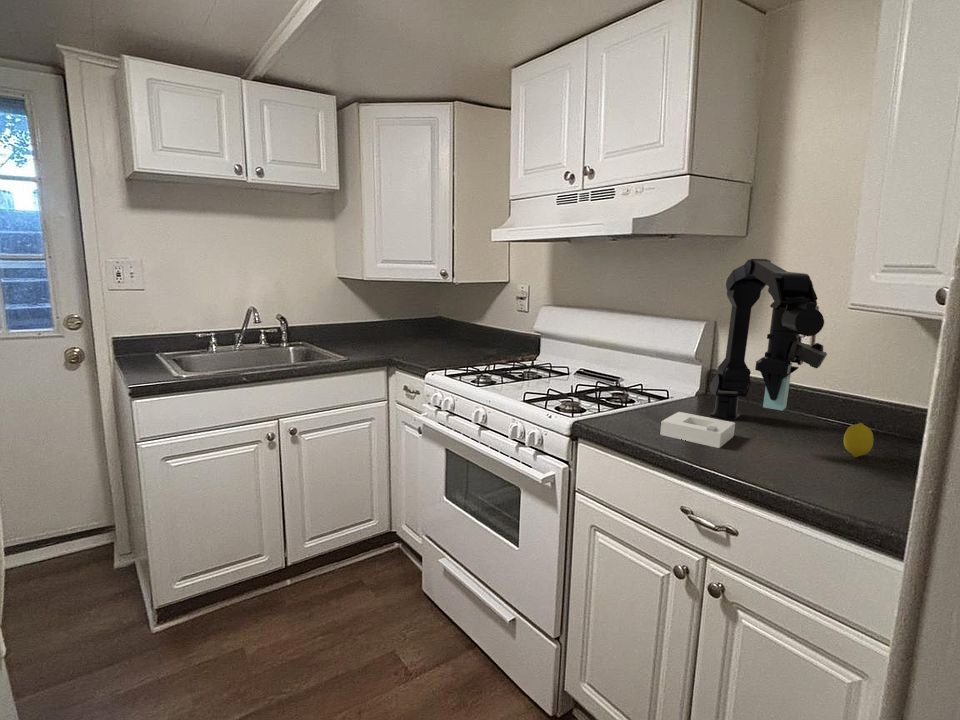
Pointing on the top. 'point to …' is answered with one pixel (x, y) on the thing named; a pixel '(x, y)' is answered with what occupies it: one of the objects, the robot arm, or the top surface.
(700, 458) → the top surface
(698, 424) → the socket plate
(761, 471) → the top surface
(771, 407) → the plug
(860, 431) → the lemon
